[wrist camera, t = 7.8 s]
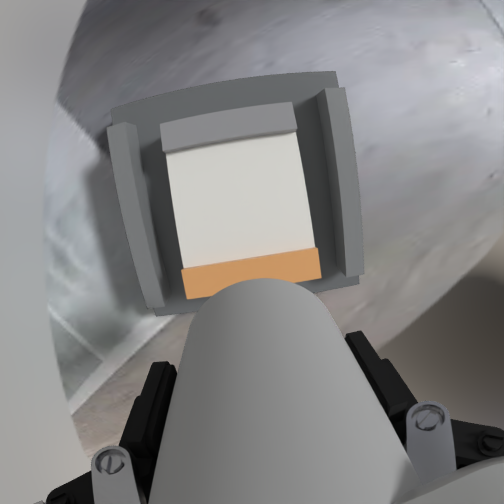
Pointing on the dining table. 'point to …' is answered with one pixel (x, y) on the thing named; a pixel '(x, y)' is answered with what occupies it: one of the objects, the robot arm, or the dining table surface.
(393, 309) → the dining table surface
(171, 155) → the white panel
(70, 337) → the dining table surface
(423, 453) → the robot arm
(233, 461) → the beverage can
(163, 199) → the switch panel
